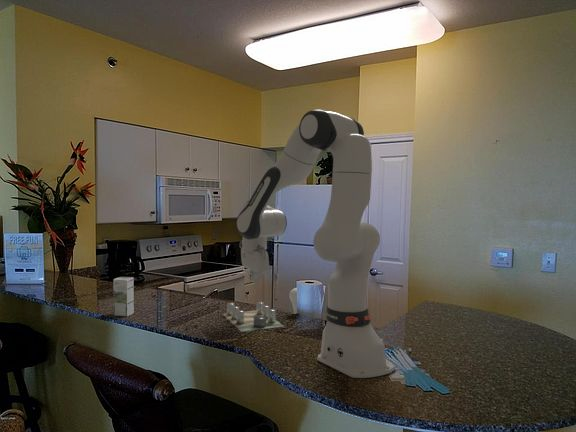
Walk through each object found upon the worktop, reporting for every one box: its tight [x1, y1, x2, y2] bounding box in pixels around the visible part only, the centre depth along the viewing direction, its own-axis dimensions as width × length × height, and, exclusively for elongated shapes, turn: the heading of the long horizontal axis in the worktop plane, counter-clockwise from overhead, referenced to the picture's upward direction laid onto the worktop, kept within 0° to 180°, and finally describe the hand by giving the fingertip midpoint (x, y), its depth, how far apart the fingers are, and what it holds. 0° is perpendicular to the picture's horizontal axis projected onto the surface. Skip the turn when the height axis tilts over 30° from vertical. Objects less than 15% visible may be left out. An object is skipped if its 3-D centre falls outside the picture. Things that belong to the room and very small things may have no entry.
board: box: [222, 309, 285, 333], centre depth 153 cm, size 24×16×1 cm, turn 24°
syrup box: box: [112, 276, 135, 317], centre depth 160 cm, size 6×6×14 cm
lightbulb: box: [288, 287, 298, 315], centre depth 161 cm, size 6×6×11 cm
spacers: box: [226, 301, 277, 325], centre depth 154 cm, size 18×14×4 cm
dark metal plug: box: [254, 316, 266, 328], centre depth 145 cm, size 4×4×3 cm
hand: (255, 282), depth 150 cm, fingers closed
